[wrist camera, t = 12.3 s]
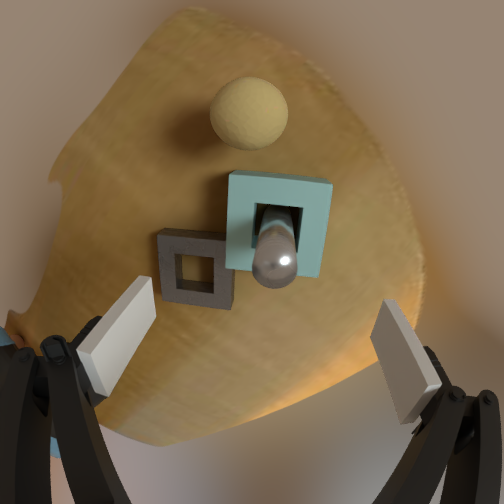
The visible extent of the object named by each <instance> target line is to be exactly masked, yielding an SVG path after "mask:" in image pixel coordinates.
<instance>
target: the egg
mask: <svg viewBox="0 0 504 504" xmlns="http://www.w3.org/2000/svg"><path fill="white" fill-rule="evenodd" d="M9 337H10V338H11V339H12V340H13V341H14V342H15V343H16V346H17V347H18V348H19V349H20V348H22V347H24V341H23V339H22V338H21V337H20V336H19V335H10V336H9Z"/></svg>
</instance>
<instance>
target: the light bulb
mask: <svg viewBox="0 0 504 504" xmlns="http://www.w3.org/2000/svg"><path fill="white" fill-rule="evenodd" d="M287 119H288V109H287V104H286V102H285V99H284V97H283V95H282V94H281V93H280V91H279V90H278V89H277V88H276V87H275V86H274V85H272V84H270V83H269V82H267V81H265V80H262V79H260V78H255V77H243V78H238V79H235V80H233V81H231V82H229V83H227V84H226V85H225V86H223V87H222V88H221V89H220V90H219V91H218V93H217V94H216V95H215V97H214V99H213V101H212V103H211V107H210V121H211V124H212V127H213V129H214V131H215V132H216V134H217V135H218V136H219V137H220V138H221V139H222V140H223V141H224V142H225V143H227V144H228V145H230V146H232V147H234V148H237V149H240V150H257V149H261V148H263V147H266V146H268V145H270V144H271V143H273V142H274V141H275V140H276V139H277V138H278V137H279V136H280V135H281V133H282V132H283V130H284V128H285V126H286V123H287Z"/></svg>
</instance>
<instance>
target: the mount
mask: <svg viewBox="0 0 504 504" xmlns="http://www.w3.org/2000/svg"><path fill="white" fill-rule="evenodd" d="M226 235H227V233H216V232H205V231H194V230H182V229H171V228H164V229H163V230H162V231H161V232H160V233H158V234H157V245H158V258H159V270H160V281H161V291H162V300H163V301H169V302H176V303H182V304H189V305H195V306H202V307H210V308H217V309H225V310H231V307H232V304H233V300H234V281H235V269H228V268H225V266H226ZM181 254H185V255H194V256H204V257H213V258H214V283H208V282H200V281H192V280H184V279H183V277H182V256H181Z"/></svg>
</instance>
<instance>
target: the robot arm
mask: <svg viewBox="0 0 504 504" xmlns="http://www.w3.org/2000/svg"><path fill="white" fill-rule="evenodd" d="M155 318H156V311H155V304H154V296H153V288H152V279H151V277H147V276H140V275H139V277H138V278H137V279H136V280H135V281H134V282H133V283H132V284H131V285H130V286H129V288H128V289H127V290H126V291H125V292H124V293H123V294H122V295H121V297H120V298H119V299H118V300H117V301H116V302H115V303H114V305H113V306H112V307H111V308H110V309H109V310H108V312H107V313H106V314H105V315H104V316H103V317H101V316H96V317H95V318H93V319H91V320H90V321H89V322H88V323H87V324H86V325H85V327H84V328H83V329H82V330H81V331H80V333H78V335H77V336H76V337H75V338H74V339H73V341H72V342H71V343H66V340H65V338H64V337H62V336H59V335H52V336H49V337H47V338H46V339H44V340H43V341H42V343H41V345H40V349H41V351H42V353H43V355H44V357H43V356H36V354H35V352H34V350H33V349H32V348H31V347H22V348H20V349H19V348H18V347H17V346H16V343H15V342H14V341H13V340H12V339H11V338H10V337H9V335H8V334H7V332H6V331H5V330H4V329H3V328H2V327H0V504H52V498H51V482H50V455H51V456H53V457H56V458H61V460H62V464H63V468H64V471H65V474H66V478H67V481H68V484H69V487H70V490H71V493H72V496H73V499H74V502H75V504H132V503H131V501H130V500H129V498H128V496H127V494H126V491H125V490H124V487H123V485H122V483H121V481H120V479H119V477H118V474H117V472H116V470H115V467H114V465H113V462H112V460H111V458H110V455H109V452H108V450H107V447H106V444H105V442H104V439H103V436H102V433H101V430H100V427H99V424H98V421H97V418H96V414H95V411H94V407H96V406H97V405H98V404H99V403H101V402H102V401H103V400H104V399H106V398H107V397H109V395H110V394H111V392H112V390H113V388H114V387H115V385H116V383H117V381H118V380H119V378H120V376H121V374H122V373H123V371H124V369H125V367H126V366H127V364H128V362H129V361H130V359H131V357H132V356H133V354H134V352H135V351H136V349H137V347H138V346H139V344H140V342H141V341H142V339H143V337H144V336H145V334H146V332H147V331H148V329H149V328H150V326H151V324H152V323H153V321H154V319H155ZM370 338H371V340H372V343H373V346H374V348H375V351H376V354H377V356H378V359H379V361H380V364H381V367H382V370H383V373H384V375H385V378H386V381H387V384H388V387H389V390H390V393H391V396H392V399H393V402H394V405H395V408H396V412H397V415H398V418H399V421H400V424H407V423H413V422H414V421H415V420H416V419H417V418H418V416H419V415H420V416H421V419H422V421H421V422H420V424H419V425H418V426H417V427H416V428H415V430H414V431H413V432H412V434H413V433H414V436H413V437H412V439H411V442H410V443H409V445H408V447H407V449H406V451H405V453H404V455H403V456H402V458H401V460H400V462H399V463H398V465H397V467H396V468H395V470H394V472H393V473H392V475H391V477H390V478H389V480H388V481H387V483H386V485H385V486H384V487H383V489H382V490H381V492H380V493H379V495H378V496H377V498H376V499H375V501H374V502H373V503H372V504H429V503H430V501H431V499H432V496H433V495H434V493H435V491H436V489H437V486H438V484H439V482H440V480H441V477H442V475H443V473H444V470H445V468H446V465H447V469H446V475H445V481H444V486H443V491H442V495H441V500H440V504H499V497H500V487H501V471H502V439H501V423H500V412H499V403H498V399H497V396H496V395H495V394H494V393H493V392H492V391H490V390H483V391H481V392H480V394H479V395H478V396H477V397H472V396H466V393H465V392H464V391H463V390H462V389H461V388H459V387H457V386H452V385H451V383H450V381H449V379H448V377H447V375H446V373H445V371H444V369H443V367H441V364H440V362H439V361H438V359H437V357H436V355H435V353H434V352H433V351H432V350H431V349H430V348H429V347H428V346H422V344H421V343H420V341H419V339H418V337H417V336H416V334H415V332H414V330H413V329H412V327H411V325H410V324H409V322H408V320H407V319H406V317H405V315H404V314H403V312H402V310H401V309H400V307H399V305H398V304H397V302H396V301H395V300H391V299H383V302H382V305H381V308H380V311H379V314H378V317H377V320H376V323H375V325H374V328H373V331H372V333H371V336H370Z"/></svg>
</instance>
